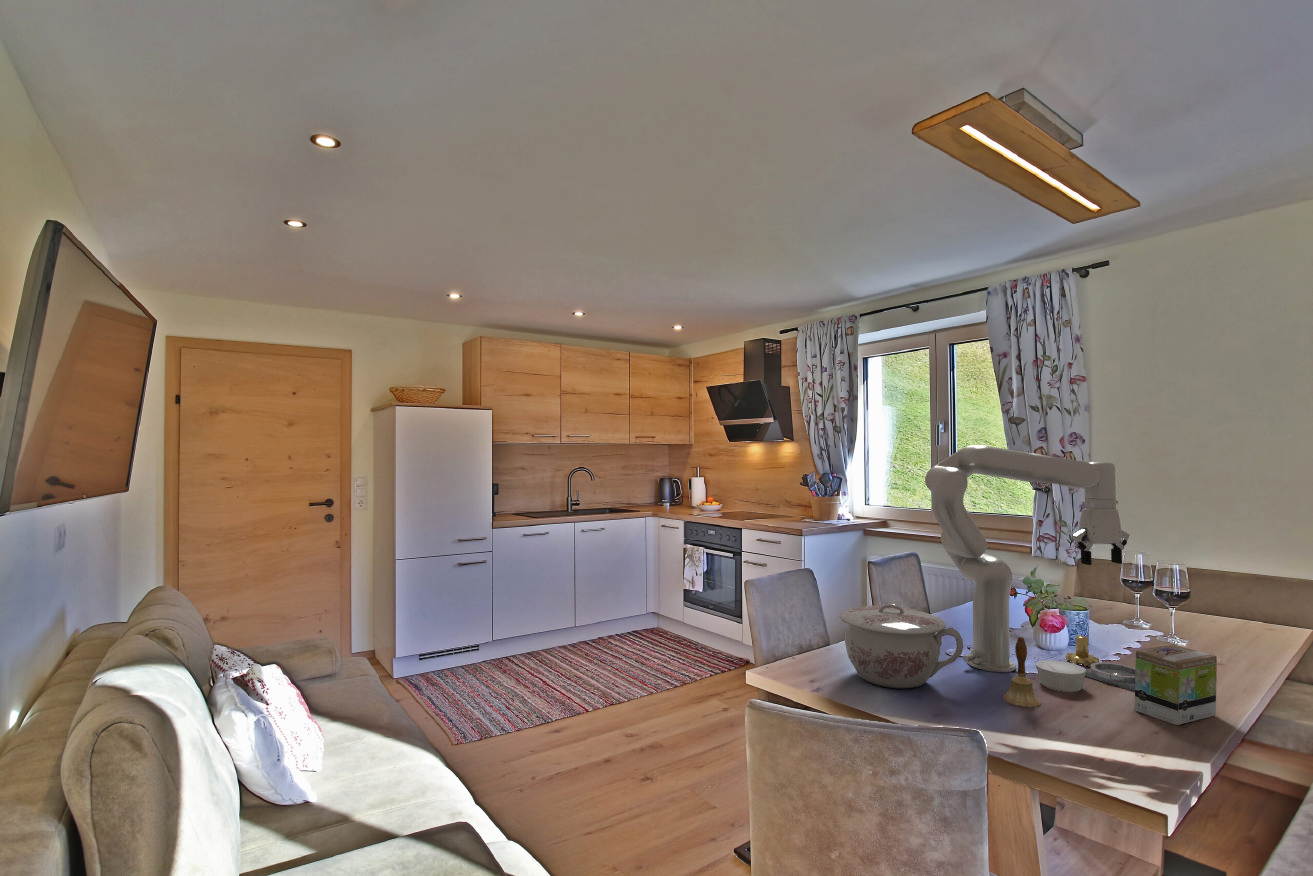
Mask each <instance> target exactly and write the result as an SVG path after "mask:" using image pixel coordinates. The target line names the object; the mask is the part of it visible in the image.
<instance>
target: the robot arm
mask: <svg viewBox="0 0 1313 876" xmlns="http://www.w3.org/2000/svg"><path fill="white" fill-rule="evenodd" d="M973 474H977V475H983V476H989V477H994V478H1001V479H1008V480H1014V481H1021V482H1027V483H1045V484H1053V485H1060V486H1061V487H1066V488H1075V489H1077V488H1078V489H1083V490H1084V508H1082V509H1081V513H1080V516H1079V517H1080V518H1079V528H1078V530H1079V531H1077V532H1076V533H1074V534H1072V536H1071V537H1072V539H1073V542H1074V544H1075V546H1076V547H1077V549H1078V551H1079V550H1080V563H1081V564H1082V565H1088V566H1091V565H1092V564H1093V563H1092V551H1091V550H1090V549H1092V547H1093V545H1110V546H1111V548H1110V559H1111V560H1110V561H1111V563H1114V564H1118V565H1119V564H1123V550H1124V549H1125V546H1126V545H1127V544H1128V540H1129V537H1130V533H1128V532H1126V531H1124V530H1123V529H1122V527H1121V526H1122V525H1121V519H1120V518H1121V517H1120V515H1119V510H1118V509H1117V505H1118V504H1119V501H1118V500H1117V499H1116V498H1117V497H1116V496H1117V491H1116V488H1117V487H1116V467H1115V464H1114V463H1113V462H1110V461H1089V462H1088V461H1084V460H1082V461H1081V460H1076V459H1071V458H1070V459H1069V458H1063V457H1055V456H1049V455H1044V454H1039V453H1034V452H1028V451H1022V450H1014V449H1008V448H1003V447H996V446H989V445H967V446H965V447H963V448H961V449H959V450H957V451H956V452H954V453H953V454H950V456H948V457H946V458H944V459H943V460H942V461H940V462H938V463H937V464H935V465H934V466H932V467H931V468H930V469H928V471H927V472H926V474H925V477H924V478H925V479H924V483H925V486H926V487H927V489H928V490H929V491H930V492H931V493H933V498H932V513H933V515H934V518H935V519H936V521H937V523H938V524H939V526H940V527H941V529H942V530H941V534H940V542H941V545H942V547H943V549H944V550H945V552H946V553H947V555H948V556H949V558H950V559H951V561H952V562H953V563H954V565H955V567H957V569H958V570H959V572H960V573H961V574H962V576H963V577H964V578H965V579H966V580H967V581H970V582H972V583H974V584H975V588H974V592H973V596H972V648H971V649H970V653H969V654H965V655H963V656H962V659H963V662H965V663H967V664H968V665H969V666H971V667H974V668H975V669H978V670H982V671H985V672H986V671H987V672H993V673H1009V672H1013V671H1015V670H1017V669H1016V663H1015V662H1014V661H1012V660H1010V599H1011V598H1010V597H1011V589H1012V585H1013V573H1012V569H1011V568H1010V566H1009V564H1007V562H1005V561H1004V560H1003V559H1001V558H999V557H996V556H993V555H991V554H987V553H986V551H987V548H988V542H987V539H986V537H985V535H984V533H983V532H982V530H980V528H979V526H978V525H977V524H976V523H975V521H974V519H973V518H972V517H971V516H970V514H969V512H968V510H967V509H966V507H965V504H964V497H965V493H966V491H967V488H968V483H969V481H968V478H969V477H970V476H972V475H973Z"/></svg>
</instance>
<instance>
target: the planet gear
mask: <svg viewBox="0 0 1313 876" xmlns="http://www.w3.org/2000/svg"><path fill="white" fill-rule="evenodd" d="M1089 643H1090V642H1089V637H1088V636H1085V635H1075V652H1069V651H1068V652H1066V654H1065V661H1066V660H1067V661H1066V662H1069V661H1071V662H1070V663H1074V664H1082V665H1081V666H1083V665H1084V666H1083V667H1086V666H1088V667H1089V668H1090V667H1091V664H1093V663H1098V662H1100V658H1099V657H1095V656H1094V655H1092V654H1089V653H1090V652H1089V648H1090V645H1089Z"/></svg>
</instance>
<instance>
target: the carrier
mask: <svg viewBox="0 0 1313 876" xmlns="http://www.w3.org/2000/svg"><path fill="white" fill-rule="evenodd" d="M1085 671H1086V675H1085V676H1084V677H1086V676H1087V677H1086V678H1090V679H1093V680H1097V681H1100V682H1103V683H1106V684H1110V685H1113V686H1116V687H1119V688H1122V689H1125V690H1129V691H1132V692H1135V667H1132V666H1128V665H1125V664H1121V663H1114V662H1102V661H1101V662H1100V661H1099V662H1098V663H1093V664H1091V666H1090V667H1089V668H1087V669H1085Z"/></svg>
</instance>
